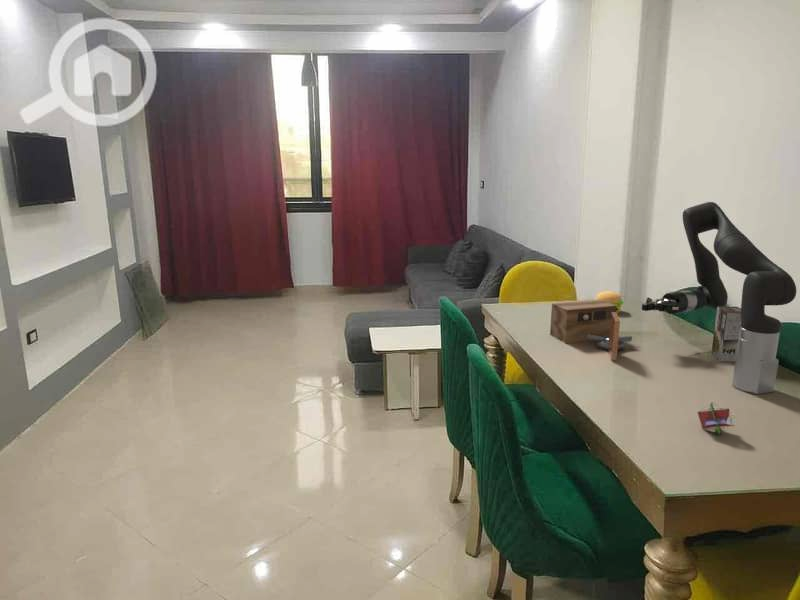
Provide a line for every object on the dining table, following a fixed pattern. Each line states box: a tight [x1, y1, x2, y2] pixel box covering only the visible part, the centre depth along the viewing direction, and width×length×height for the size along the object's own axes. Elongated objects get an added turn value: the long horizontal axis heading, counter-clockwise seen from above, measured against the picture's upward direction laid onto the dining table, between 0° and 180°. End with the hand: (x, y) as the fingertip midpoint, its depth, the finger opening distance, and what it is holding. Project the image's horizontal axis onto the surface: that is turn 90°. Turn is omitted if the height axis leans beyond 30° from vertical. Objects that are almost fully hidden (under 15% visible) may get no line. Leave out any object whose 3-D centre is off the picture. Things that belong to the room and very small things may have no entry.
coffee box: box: [711, 305, 741, 363], centre depth 179 cm, size 9×6×16 cm
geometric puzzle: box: [697, 401, 735, 437], centre depth 131 cm, size 7×7×8 cm
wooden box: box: [549, 299, 616, 344], centre depth 201 cm, size 12×20×12 cm, turn 106°
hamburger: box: [593, 290, 624, 314], centre depth 236 cm, size 12×12×9 cm
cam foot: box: [587, 312, 633, 361], centre depth 185 cm, size 20×14×13 cm
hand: (643, 307), depth 184 cm, fingers closed
